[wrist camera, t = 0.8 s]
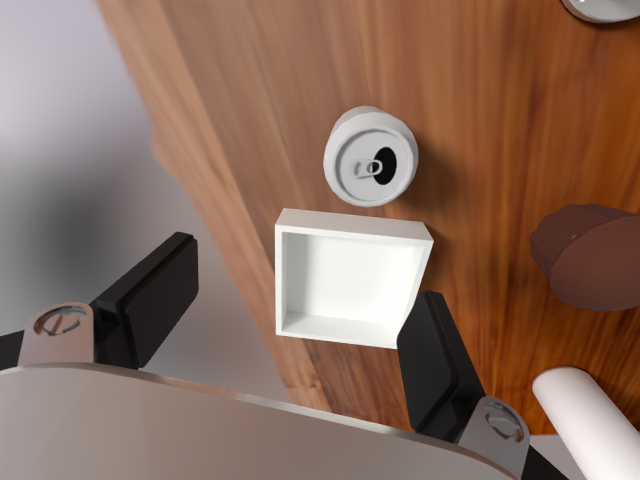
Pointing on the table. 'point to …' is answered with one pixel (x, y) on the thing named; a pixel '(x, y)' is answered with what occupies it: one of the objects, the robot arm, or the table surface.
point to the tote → (347, 275)
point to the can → (370, 157)
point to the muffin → (590, 256)
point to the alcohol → (589, 424)
